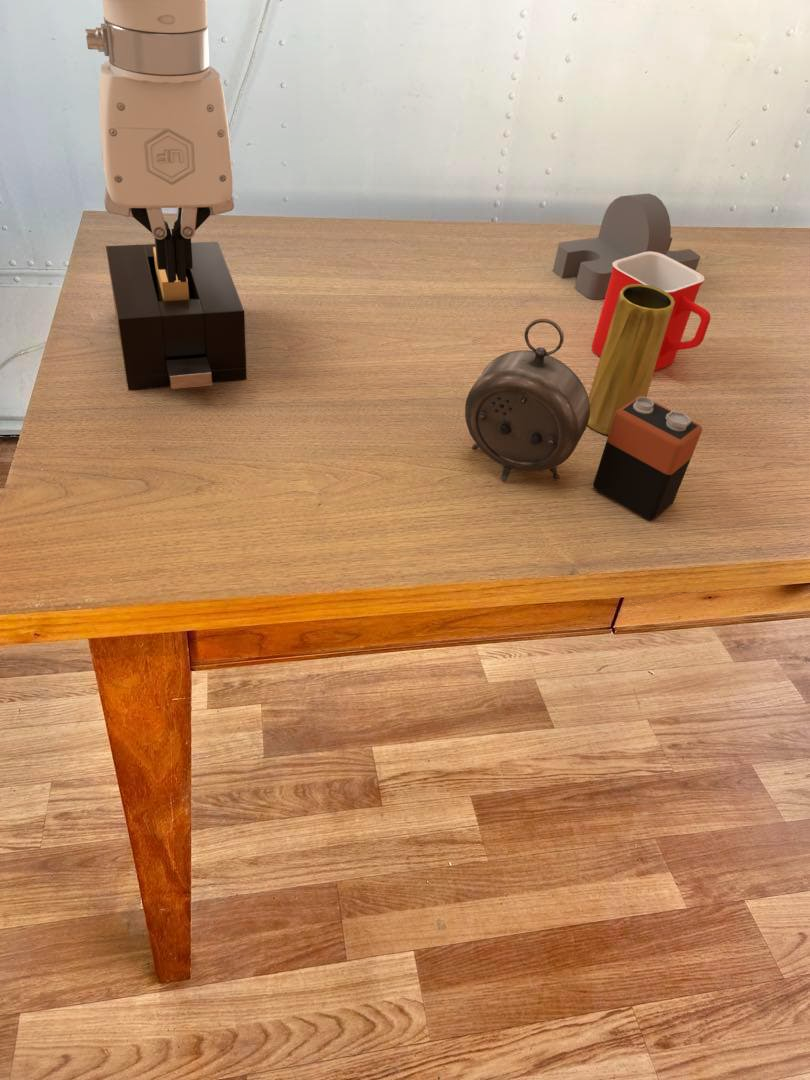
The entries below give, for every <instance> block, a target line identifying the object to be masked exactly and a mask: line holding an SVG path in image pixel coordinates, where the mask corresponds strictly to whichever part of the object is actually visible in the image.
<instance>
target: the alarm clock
mask: <svg viewBox="0 0 810 1080" xmlns="http://www.w3.org/2000/svg"><path fill="white" fill-rule="evenodd" d="M540 323H541V324H543V323H545V324H549V325H551V326H553V327H554V328H555V329H556V331H557V332H558V334H559V342H558V345H557V346H556V347H555V348H554V349H553V350H550V351H547V349H546V348H545V347H541V346H539V347H537V348H535V347H533V346H532V344H531V342H530V339H529V332H530V330H531V328H533V327H534V326H535V325H537V324H540ZM564 338H565V337H564V332H563V330H562V328H561V326H560V325H559V324H558V323H557V322H555V321H554V320H552V319H548V318H538V319H535V320H532V321H531V322H530V323H529V324H528V325H527V326H526V327H525V331H524V340H525V343H526V346H527V347H528V348H529V349H521V350H520V349H519V350H513V351H509V352H505V353H503V354H501V355H499V356H496V357H495V358H494V359H493V360H491V361H490V362H489V363H488V364H487V365H486V367H485V368H484V369H483V371H482V372H481V374H480V376H478V379H477V380H476V381H475V382H474V384H473V385H472V387H471V388H470V390H469V392H468V394H467V397H466V399H465V406H464V416H465V424H466V426H467V429H468V433H469V435H470V436H471V438H472V439H473V441H474V443H473V444H472V445H471V449H472V450H473V451H477V450H478V449H480V451H481V452H483V454H484V455H486V456H487V457H488V458H490V459H491V460H492V461H494V462H495V463H497V464H499V465H500V466H503V468H502V471H501V475H500V480H501V482H503V483H507V481H508V480H509V477H510V474H511V471H517V472H522V473H523V472H524V473H540V472H546V471H549V472H551V474H552V479H553V480H555V481H558V480H559V479H560V477H561V476H560V474H559V473H558V469H557V468H558V466H560V465H562V464H563V463H564V462H566V461H567V460H568V459H569V458H570V457H571V455H572V454H573V453H574V451H575V450H576V448H577V446H578V444H579V441H580V440H581V438H582V436H583V435H584V433H585V431H586V429H587V426H588V425H587V424H588V421H589V416H590V404H589V398H588V396H589V394H588V393H587V390H586V388H585V386H584V384H583V382H582V381H581V379H580V378H579V376H578V375H577V374H576V372H574V371H573V370H572V369H571V368H570V367H569V366H568V365H567V364H565V362H562V361H561V360H559V359H558V358H556V357H554V356H552V355H553V354H555V353H556V352H558V351H559V350H560V349H561V348H562V345H563V343H564Z"/></svg>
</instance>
